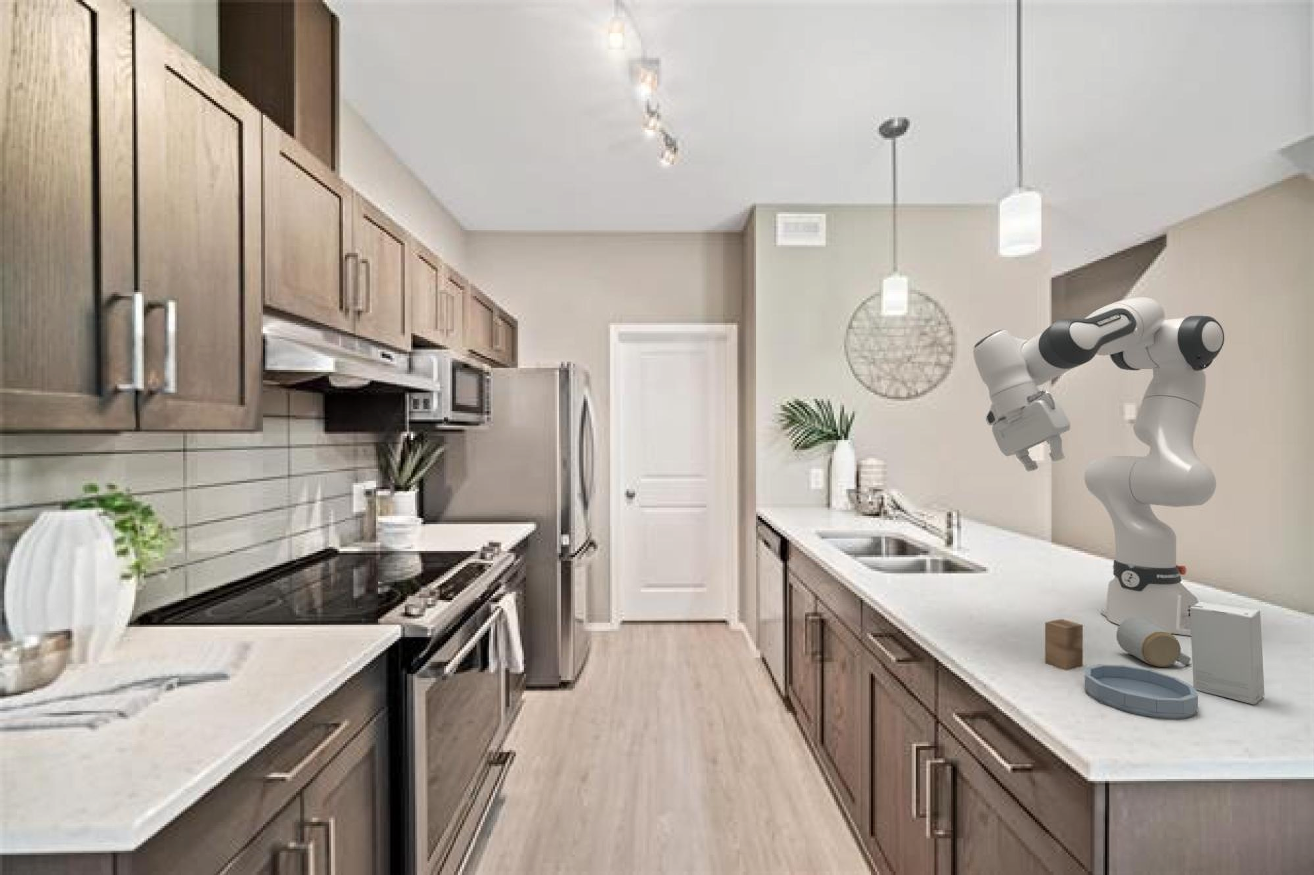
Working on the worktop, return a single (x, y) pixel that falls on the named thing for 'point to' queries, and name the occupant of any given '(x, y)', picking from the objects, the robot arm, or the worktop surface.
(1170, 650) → the ceramic mug
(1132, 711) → the slate bowl
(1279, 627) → the worktop surface
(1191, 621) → the skincare box
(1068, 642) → the walnut block
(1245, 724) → the worktop surface
